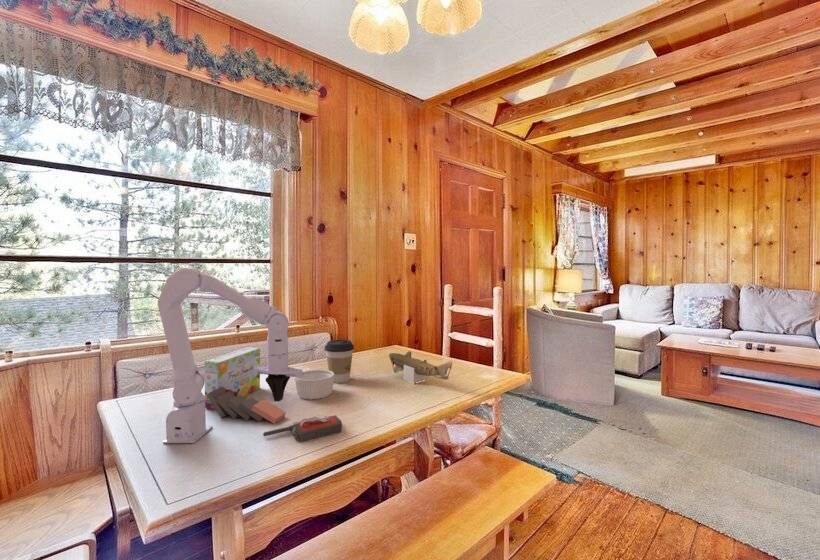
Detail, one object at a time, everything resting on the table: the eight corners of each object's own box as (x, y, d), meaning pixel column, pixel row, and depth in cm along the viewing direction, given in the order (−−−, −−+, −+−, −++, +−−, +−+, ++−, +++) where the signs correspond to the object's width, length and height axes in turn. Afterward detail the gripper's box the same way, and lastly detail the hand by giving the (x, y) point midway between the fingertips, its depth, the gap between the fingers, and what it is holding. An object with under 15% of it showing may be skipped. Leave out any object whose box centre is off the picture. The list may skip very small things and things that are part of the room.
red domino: (286, 412, 112) (264, 399, 113) (276, 419, 107) (253, 405, 109) (284, 416, 112) (262, 403, 114) (274, 423, 107) (251, 410, 109)
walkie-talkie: (335, 421, 110) (262, 437, 99) (335, 405, 110) (262, 421, 99) (347, 432, 103) (269, 452, 92) (346, 416, 102) (269, 434, 92)
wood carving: (442, 397, 128) (442, 364, 128) (381, 373, 155) (381, 346, 155) (460, 391, 134) (460, 360, 134) (399, 369, 161) (399, 343, 160)
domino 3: (260, 409, 114) (240, 394, 115) (249, 416, 109) (228, 400, 110) (257, 414, 114) (237, 398, 115) (247, 420, 109) (226, 404, 111)
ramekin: (314, 385, 140) (313, 367, 140) (342, 391, 134) (342, 372, 134) (286, 397, 129) (286, 376, 128) (316, 404, 122) (316, 382, 122)
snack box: (219, 410, 117) (218, 362, 116) (204, 409, 118) (202, 361, 117) (261, 388, 137) (260, 347, 137) (247, 387, 139) (246, 346, 138)
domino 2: (248, 408, 115) (230, 391, 116) (237, 415, 110) (218, 396, 111) (245, 412, 115) (227, 394, 116) (234, 419, 110) (215, 400, 111)
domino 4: (272, 410, 113) (251, 397, 114) (262, 417, 108) (240, 403, 109) (270, 415, 113) (249, 401, 115) (260, 422, 108) (238, 407, 110)
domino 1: (236, 408, 116) (222, 386, 117) (224, 415, 111) (209, 392, 112) (232, 411, 116) (218, 389, 117) (220, 417, 111) (206, 395, 112)
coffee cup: (349, 386, 140) (349, 345, 139) (319, 384, 142) (319, 344, 141) (358, 376, 151) (358, 339, 150) (330, 375, 153) (330, 338, 152)
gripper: (307, 351, 111) (308, 397, 111) (264, 348, 114) (264, 393, 115) (294, 357, 104) (295, 406, 104) (248, 354, 107) (249, 401, 108)
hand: (278, 400), depth 109 cm, fingers closed
